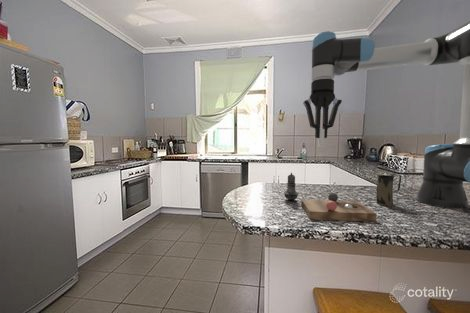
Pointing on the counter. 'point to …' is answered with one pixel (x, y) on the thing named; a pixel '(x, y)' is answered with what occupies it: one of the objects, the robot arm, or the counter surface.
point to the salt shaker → (291, 190)
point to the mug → (386, 189)
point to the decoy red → (331, 205)
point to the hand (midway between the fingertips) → (320, 147)
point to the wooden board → (337, 211)
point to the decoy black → (333, 197)
